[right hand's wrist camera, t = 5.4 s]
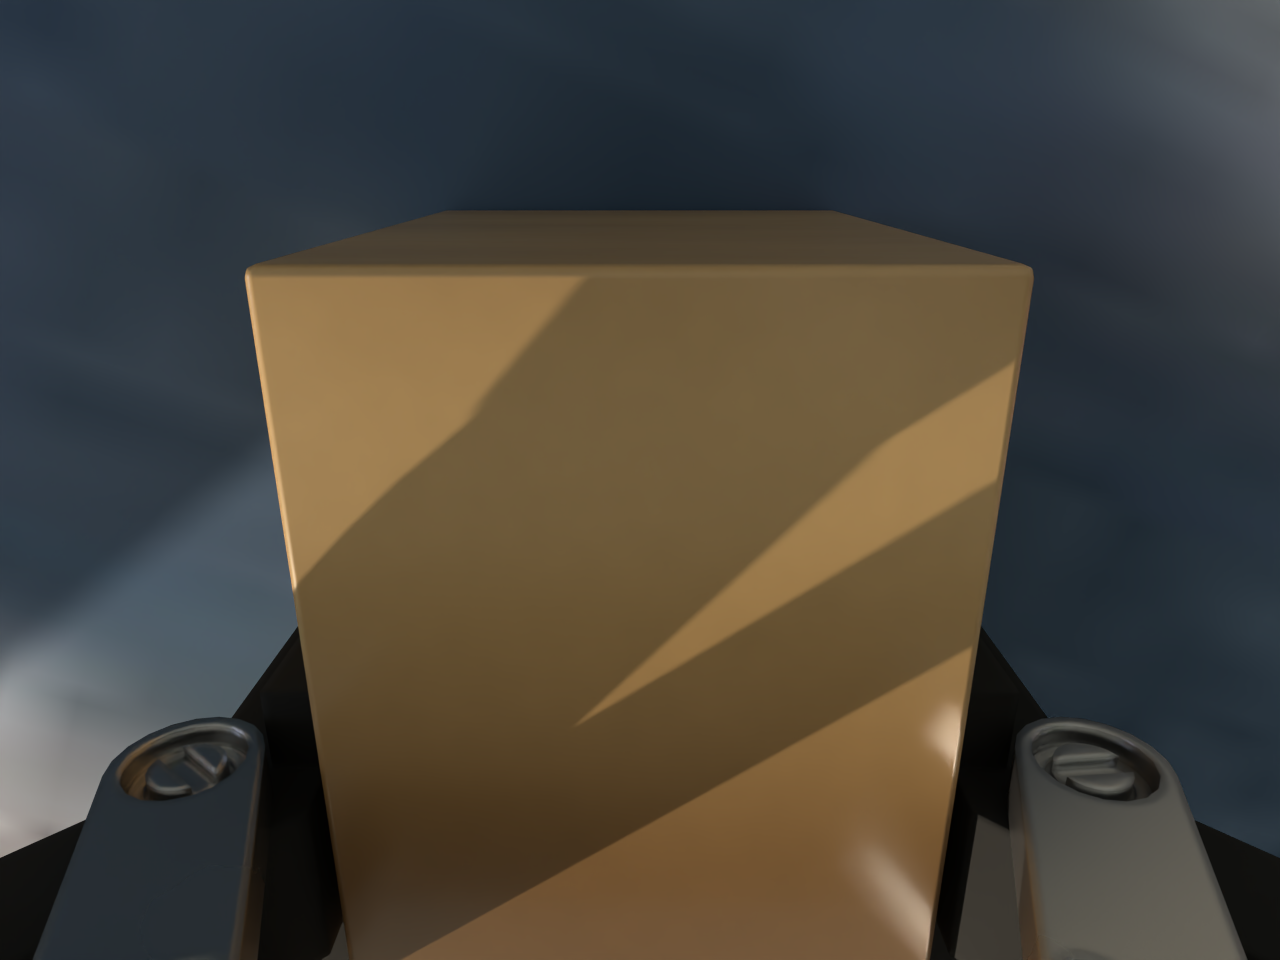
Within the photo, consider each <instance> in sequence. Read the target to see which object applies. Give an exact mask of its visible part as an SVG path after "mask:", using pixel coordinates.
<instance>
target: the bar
mask: <svg viewBox="0 0 1280 960" xmlns="http://www.w3.org/2000/svg"><path fill="white" fill-rule="evenodd" d="M1033 281H1034V275H1033V270H1032V268H1031V267H1029V266H1027V265H1024V264H1022V263H1018V262H1015V261H1011V260H1008V259H1004V258H1000V257H997V256H993V255H990V254H986V253H983V252H979V251H975V250H972V249H968V248H965V247H961V246H958V245H954V244H950V243H947V242H943V241H940V240H936V239H933V238H929V237H925V236H922V235H918V234H915V233H911V232H908V231H904V230H900V229H897V228H893V227H890V226H886V225H883V224H879V223H876V222H872V221H868V220H865V219H861V218H858V217H854V216H851V215H847V214H843V213H840V212H836V211H833V210H498V211H496V210H495V211H443V212H440V213H436V214H432V215H429V216H425V217H422V218H418V219H415V220H411V221H407V222H404V223H400V224H397V225H393V226H390V227H386V228H382V229H379V230H375V231H372V232H368V233H364V234H361V235H357V236H354V237H350V238H347V239H343V240H339V241H336V242H332V243H329V244H325V245H322V246H318V247H314V248H311V249H307V250H304V251H300V252H296V253H293V254H289V255H286V256H282V257H279V258H275V259H271V260H268V261H264V262H261V263H257V264H255V265H252V266H250V267H248V268H247V270H246V274H245V282H246V289H247V295H248V302H249V308H250V315H251V322H252V328H253V335H254V341H255V348H256V354H257V361H258V367H259V374H260V380H261V387H262V393H263V400H264V406H265V413H266V419H267V426H268V432H269V439H270V445H271V452H272V458H273V465H274V472H275V478H276V485H277V491H278V498H279V504H280V511H281V517H282V524H283V530H284V537H285V543H286V550H287V556H288V563H289V569H290V576H291V582H292V589H293V595H294V602H295V608H296V615H297V621H298V628H299V635H300V641H301V648H302V654H303V661H304V667H305V674H306V680H307V687H308V693H309V700H310V706H311V713H312V719H313V726H314V732H315V739H316V745H317V752H318V758H319V765H320V771H321V778H322V785H323V791H324V798H325V804H326V811H327V817H328V824H329V830H330V837H331V843H332V850H333V856H334V863H335V869H336V876H337V882H338V889H339V895H340V902H341V908H342V915H343V921H344V928H345V935H346V941H347V948H348V954H349V960H930V955H931V949H932V942H933V936H934V929H935V922H936V916H937V909H938V903H939V896H940V890H941V883H942V877H943V870H944V864H945V857H946V850H947V844H948V837H949V831H950V824H951V818H952V811H953V805H954V798H955V792H956V785H957V778H958V772H959V765H960V759H961V752H962V746H963V739H964V733H965V726H966V720H967V713H968V706H969V700H970V693H971V687H972V680H973V674H974V667H975V661H976V654H977V648H978V641H979V634H980V628H981V621H982V615H983V608H984V602H985V595H986V589H987V582H988V576H989V569H990V562H991V556H992V549H993V543H994V536H995V530H996V523H997V517H998V510H999V504H1000V497H1001V490H1002V484H1003V477H1004V471H1005V464H1006V458H1007V451H1008V445H1009V438H1010V432H1011V425H1012V419H1013V412H1014V405H1015V399H1016V392H1017V386H1018V379H1019V373H1020V366H1021V360H1022V353H1023V347H1024V340H1025V333H1026V327H1027V320H1028V314H1029V307H1030V301H1031V294H1032V288H1033Z"/></svg>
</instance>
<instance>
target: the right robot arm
mask: <svg viewBox="0 0 1280 960" xmlns="http://www.w3.org/2000/svg"><path fill="white" fill-rule="evenodd" d="M0 960H349V954H348V948H347V941H346V935H345V928H344V921H343V915H342V908H341V902H340V895H339V889H338V882H337V876H336V869H335V863H334V856H333V850H332V843H331V837H330V830H329V824H328V817H327V811H326V804H325V798H324V791H323V785H322V778H321V771H320V765H319V758H318V752H317V745H316V739H315V732H314V726H313V719H312V713H311V706H310V700H309V693H308V687H307V680H306V674H305V667H304V661H303V654H302V648H301V641H300V635H299V628H298V627H297V628H296V630H295V631H294V633H293V634H292V635H291V637H290V638H289V639H288V641H287V642H286V644H285V645H284V646H283V648H282V649H281V650H280V652H279V653H278V655H277V656H276V657H275V659H274V660H273V661H272V663H271V664H270V666H269V667H268V668H267V670H266V671H265V673H264V674H263V675H262V677H261V678H260V679H259V681H258V682H257V684H256V685H255V686H254V688H253V689H252V690H251V692H250V693H249V695H248V696H247V697H246V699H245V700H244V701H243V703H242V704H241V706H240V707H239V708H238V710H237V711H236V713H235V714H234V715H233V717H232V718H225V717H212V718H200V719H194V720H190V721H186V722H181V723H177V724H173V725H170V726H168V727H166V728H163V729H161V730H158V731H156V732H153V733H151V734H148V735H147V736H145V737H143V738H142V739H140V740H138V741H137V742H135V743H133V744H132V745H130V746H128V747H127V748H126V749H125V750H124V751H123V752H122V753H120V754H119V755H118V756H117V757H116V758H115V759H114V760H113V761H112V762H111V763H110V765H109V767H108V768H107V770H106V771H105V773H104V774H103V776H102V779H101V781H100V784H99V786H98V789H97V792H96V794H95V797H94V800H93V802H92V805H91V807H90V810H89V813H88V815H87V818H86V820H84V821H82V822H80V823H77V824H75V825H73V826H71V827H68V828H66V829H64V830H62V831H60V832H57V833H55V834H53V835H51V836H48V837H46V838H44V839H42V840H39V841H37V842H35V843H33V844H30V845H28V846H26V847H24V848H21V849H19V850H17V851H15V852H12V853H10V854H8V855H6V856H4V857H1V858H0ZM930 960H1280V858H1278V857H1276V856H1274V855H1271V854H1269V853H1267V852H1265V851H1262V850H1260V849H1258V848H1256V847H1254V846H1251V845H1249V844H1247V843H1245V842H1242V841H1240V840H1238V839H1236V838H1233V837H1231V836H1229V835H1227V834H1224V833H1222V832H1220V831H1218V830H1215V829H1213V828H1211V827H1209V826H1206V825H1204V824H1202V823H1200V822H1197V821H1195V820H1194V818H1193V815H1192V813H1191V810H1190V807H1189V805H1188V802H1187V800H1186V797H1185V794H1184V792H1183V789H1182V786H1181V784H1180V781H1179V779H1178V776H1177V774H1176V773H1175V771H1174V770H1173V768H1172V767H1171V765H1170V763H1169V762H1168V761H1167V760H1166V759H1165V758H1164V757H1163V756H1162V755H1161V754H1160V753H1158V752H1157V751H1156V750H1155V749H1154V748H1153V747H1152V746H1150V745H1148V744H1147V743H1145V742H1143V741H1142V740H1140V739H1138V738H1137V737H1135V736H1133V735H1132V734H1129V733H1127V732H1124V731H1122V730H1119V729H1117V728H1114V727H1112V726H1110V725H1107V724H1103V723H1099V722H1094V721H1090V720H1086V719H1080V718H1068V717H1055V718H1047V716H1046V715H1045V714H1044V712H1043V711H1042V709H1041V708H1040V707H1039V705H1038V704H1037V703H1036V701H1035V700H1034V698H1033V697H1032V696H1031V694H1030V693H1029V691H1028V690H1027V689H1026V687H1025V686H1024V685H1023V683H1022V682H1021V680H1020V679H1019V678H1018V676H1017V675H1016V674H1015V672H1014V671H1013V669H1012V668H1011V667H1010V665H1009V664H1008V663H1007V661H1006V660H1005V658H1004V657H1003V656H1002V654H1001V653H1000V651H999V650H998V649H997V647H996V646H995V645H994V643H993V642H992V640H991V639H990V638H989V636H988V635H987V634H986V632H985V631H984V629H983V628H982V627H981V628H980V634H979V641H978V648H977V654H976V661H975V667H974V674H973V680H972V687H971V693H970V700H969V706H968V713H967V720H966V726H965V733H964V739H963V746H962V752H961V759H960V765H959V772H958V778H957V785H956V792H955V798H954V805H953V811H952V818H951V824H950V831H949V837H948V844H947V850H946V857H945V864H944V870H943V877H942V883H941V890H940V896H939V903H938V909H937V916H936V922H935V929H934V936H933V942H932V949H931V955H930Z"/></svg>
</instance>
